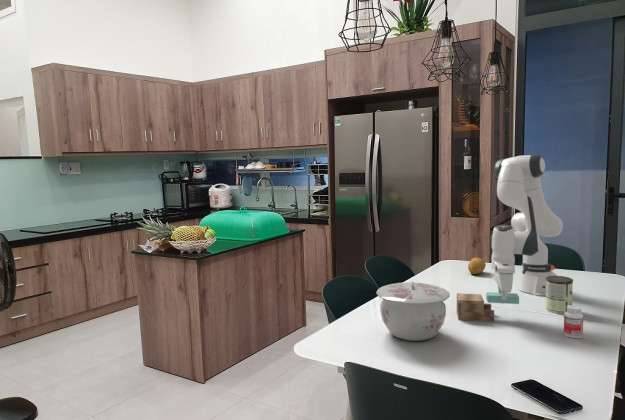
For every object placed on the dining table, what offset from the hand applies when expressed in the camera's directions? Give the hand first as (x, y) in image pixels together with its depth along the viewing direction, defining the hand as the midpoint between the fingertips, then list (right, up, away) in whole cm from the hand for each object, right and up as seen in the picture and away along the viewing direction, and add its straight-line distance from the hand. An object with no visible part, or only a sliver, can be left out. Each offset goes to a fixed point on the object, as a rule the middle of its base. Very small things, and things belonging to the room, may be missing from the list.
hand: (502, 297), depth 188 cm
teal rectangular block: (0, -2, 0) cm, 2 cm away
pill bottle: (+18, -11, -20) cm, 29 cm away
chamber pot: (-40, -12, -14) cm, 44 cm away
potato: (+16, -1, +75) cm, 77 cm away
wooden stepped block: (-10, -9, +4) cm, 14 cm away
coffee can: (+28, -8, +9) cm, 30 cm away
